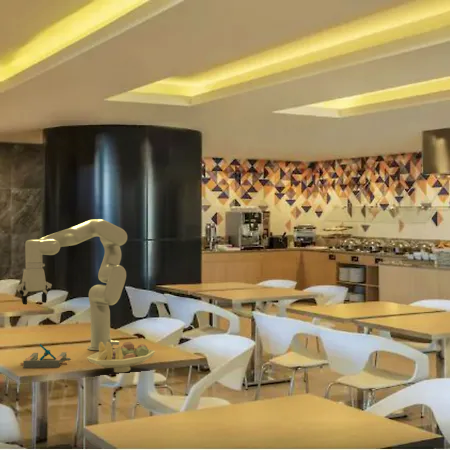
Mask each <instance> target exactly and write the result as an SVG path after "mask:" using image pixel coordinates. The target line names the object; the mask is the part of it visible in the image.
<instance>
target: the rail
mask: <svg viewBox="0 0 450 450" xmlns="http://www.w3.org/2000/svg"><path fill="white" fill-rule="evenodd" d="M38 358H39V352H33V353H31V355H29V356H28V357H25V359H24V360H23V362H20V366H23V369H36V368H37V369H38V368H39V369H42V368H45V369H46V368H60V366H61V365H68V362H67V361H70V360H71V357H67V351H63V352H61V353H60V354H59V355H57V357H55V358H56V359H47V360H46V359H43V360H38ZM65 361H66V362H65Z"/></svg>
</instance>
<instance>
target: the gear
mask: <svg viewBox="0 0 450 450" xmlns="http://www.w3.org/2000/svg"><path fill="white" fill-rule="evenodd" d="M39 347H40V348H42V350H43V351H44V352H43V355H42V356H41V357H40V359H39V360H44V359H45V358H46V357H47V356H48V355H49V356H50V357H51V358H53V360H55V359H56V358H57V357H55V356H54V355H53V354H52V353H51V350H50V349H47V348H45V347H44V346H43V345H42V344H41V343H40V344H39Z"/></svg>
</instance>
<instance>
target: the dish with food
mask: <svg viewBox="0 0 450 450" xmlns="http://www.w3.org/2000/svg"><path fill="white" fill-rule="evenodd" d="M116 346H117V347H116V348H114V347H113V348H112V345H111V343H110V342H107V343H106V346H104V344H103V342H100V343H99V350H98V351H96V352H95V353H92V354H90V355H89V356H87V357H86V359H87V360H88V362H89V363H92V364H94V365H98V366H100V367H104V368H108V369H109V368H110V369H112V368H113V372H114V373H127V372H130V371H131V367H133V366H137V365H140V364H142V363H143V362H145V361H147V360H149V359H150V358H152V357H153V356H154V354H155V353H156V350H154V349H149V348H148V346H147V345H146V344H145V343H143V344H142V343H140V344H139V345H138V346H136V347H135V345H134V343H133V342H131V341H126V342H124V343H123V344H122V345H116Z"/></svg>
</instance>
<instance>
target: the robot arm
mask: <svg viewBox="0 0 450 450" xmlns="http://www.w3.org/2000/svg"><path fill="white" fill-rule="evenodd" d="M95 237H99V241H100V242H101V244H102V246H103V249H104V255H103V257H102V258H103V259H102V262H101V264H100V266H99V267H100V268H99V270H98V274H97V276H98V280H99V281H100V282H101V283H105V284H95V285H93V286H91V288H89V291H88V300H89V301H88V302H89V307H90V308H89V309H90V345H88V346H87V350H88V351H89V350H90V351H99V343H100V342H103V344H104V346H106V343H107V342H110V343H111V345H112V348H113V349H114V346H120V341H119V340H113V339H112V338H111V310H110V306H114V305H115V304H117V303H118V302H119V300H120V298H121V296H122V292H123V289H124V286H125V283H126V280H127V271H126V269H125V268H124V266H123V265H120V263H121V260H122V250H121V246H123V245H125V244H126V243H127V241H128V234H127V231H125V229H123V228H122V227H120V226H117V225H115V224H114V223H111V222H110V221H107V220H105V219H101V218H98V219H89V220H86V221H84V222H81V223H79V224H77V225H74V226H71V227H69V228H66V229H63V230H59V231H57V232H54V233H50V234H48V235H46V236H43V237H41V238H39V239H28V240H26V241H25V244H24V245H25V246H24V247H25V248H24V249H25V250H24V251H25V269H23V273H22V280H21V283H20V284H19V285H17V286H16V287H15V288H16V290H17V292H18V294H20V296H21V303H22V304H23V305H28V296H27V294H28V293H29V292H41V293H42V294H41V302H42V303H44V304H46V303H47V301H48V298H47V297H48V296H47V295H48V293H49V292H50V291H51V289H52V286H53V285H52V283H50V282H48V281H46V275H45V270H44V267H45V266H46V264H45V263H43V255H45V256H54V255H56V254H58V253H59V252H60V249H61V248H62V247H63V248H64V247H69V246H70V247H71V246H76V245H78V244H81V243H83V242H85V241H88V240H90V239H93V238H95Z"/></svg>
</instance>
